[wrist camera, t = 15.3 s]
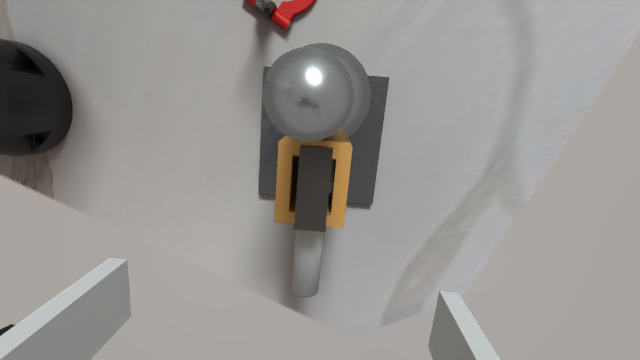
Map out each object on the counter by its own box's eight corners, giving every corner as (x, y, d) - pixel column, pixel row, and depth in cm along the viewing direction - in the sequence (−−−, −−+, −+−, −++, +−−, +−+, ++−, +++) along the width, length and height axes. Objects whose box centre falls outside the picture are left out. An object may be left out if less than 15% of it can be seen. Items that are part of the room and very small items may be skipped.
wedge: (306, 190, 44) (294, 229, 31) (310, 131, 43) (299, 146, 29) (328, 192, 44) (325, 232, 31) (333, 133, 42) (333, 149, 29)
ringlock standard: (260, 191, 47) (166, 311, 21) (265, 51, 42) (153, -24, 16) (371, 202, 47) (418, 337, 20) (390, 61, 42) (481, 3, 16)
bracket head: (281, 269, 43) (269, 306, 35) (289, 132, 39) (278, 141, 31) (334, 274, 43) (334, 313, 35) (348, 137, 38) (352, 148, 31)
